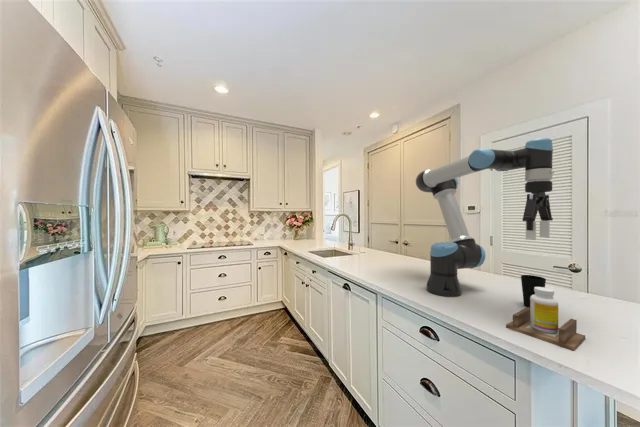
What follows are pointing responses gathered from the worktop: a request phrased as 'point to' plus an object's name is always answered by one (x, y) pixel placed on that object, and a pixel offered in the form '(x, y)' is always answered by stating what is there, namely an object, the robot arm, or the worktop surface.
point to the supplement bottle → (544, 310)
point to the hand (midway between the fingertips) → (537, 238)
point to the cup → (530, 286)
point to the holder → (562, 337)
